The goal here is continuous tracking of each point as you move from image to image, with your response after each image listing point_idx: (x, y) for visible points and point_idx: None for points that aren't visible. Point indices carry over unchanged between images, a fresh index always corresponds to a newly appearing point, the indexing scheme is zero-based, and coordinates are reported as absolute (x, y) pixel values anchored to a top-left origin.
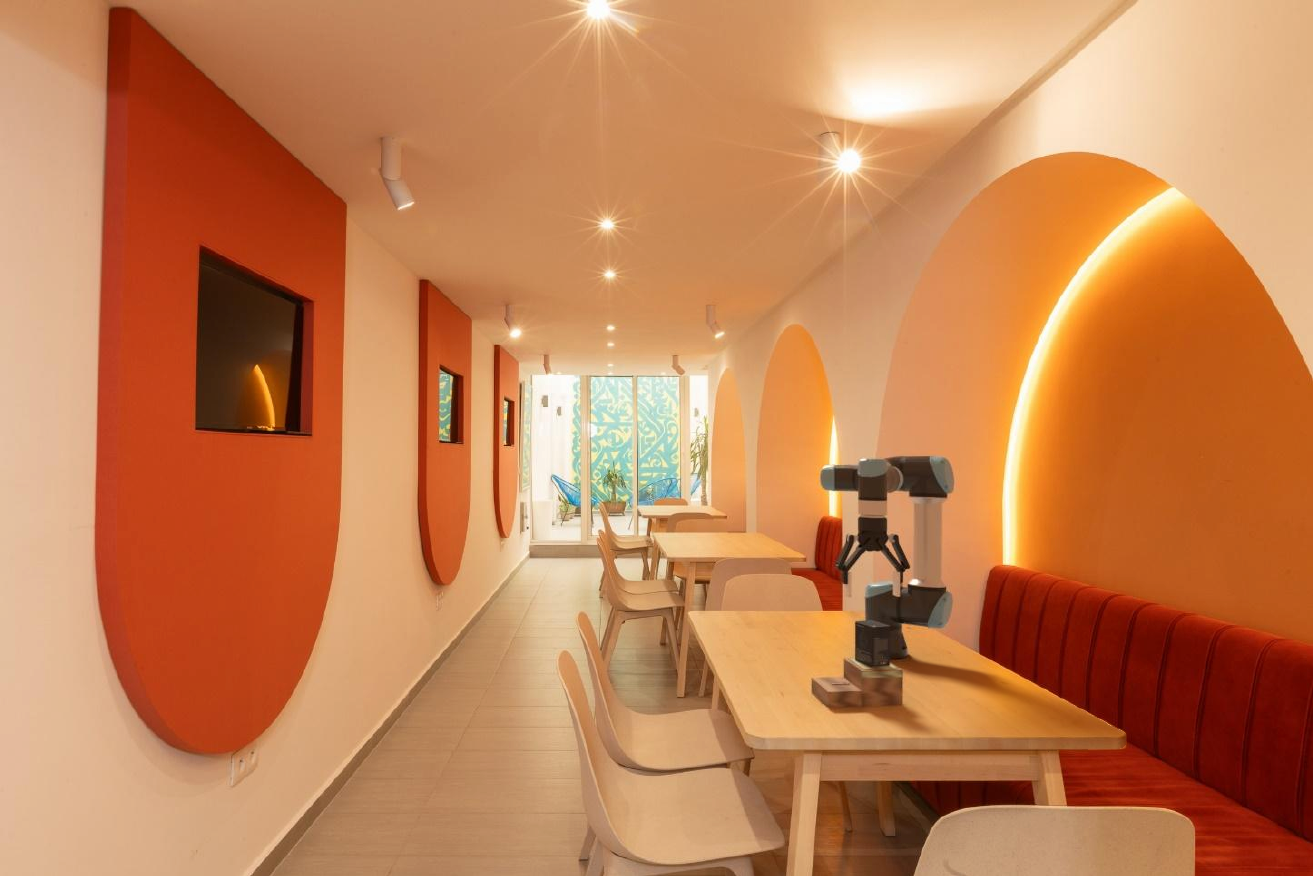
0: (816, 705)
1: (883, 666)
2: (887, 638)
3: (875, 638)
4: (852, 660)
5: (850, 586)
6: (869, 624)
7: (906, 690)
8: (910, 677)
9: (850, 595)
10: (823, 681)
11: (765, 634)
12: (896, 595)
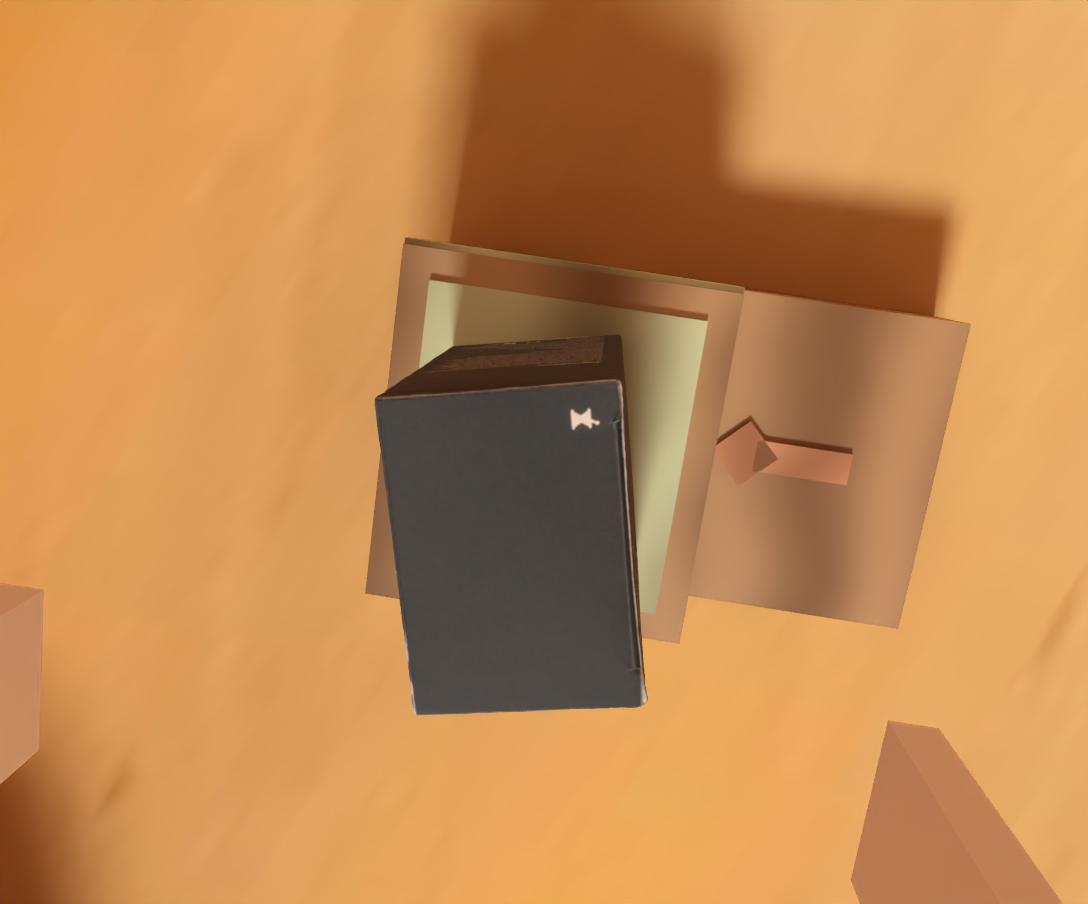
0: (975, 375)
1: None
2: (438, 373)
3: (588, 363)
4: (657, 559)
5: (981, 839)
6: (592, 496)
7: (260, 494)
8: (95, 706)
9: (913, 743)
10: (865, 536)
11: None
12: (34, 628)
